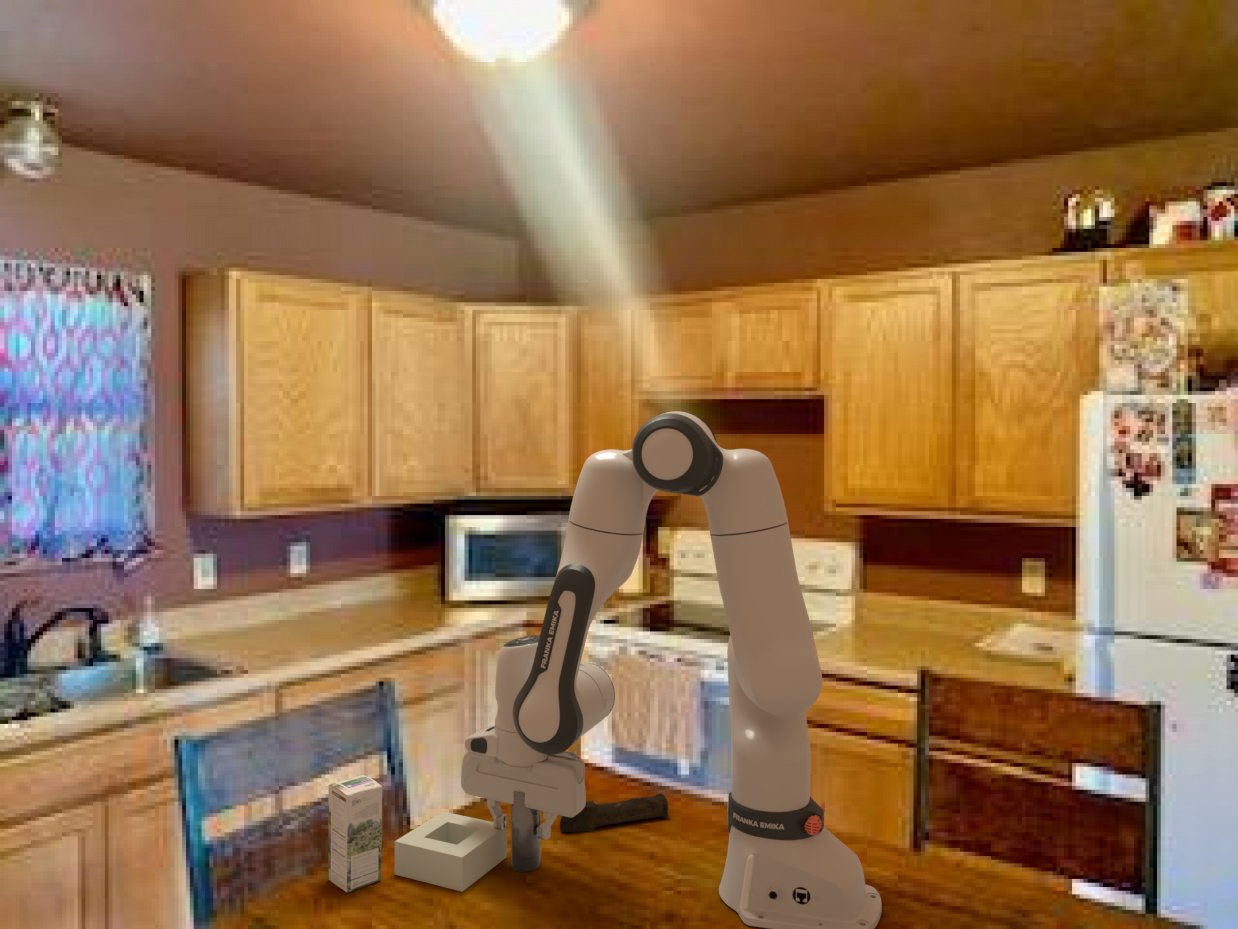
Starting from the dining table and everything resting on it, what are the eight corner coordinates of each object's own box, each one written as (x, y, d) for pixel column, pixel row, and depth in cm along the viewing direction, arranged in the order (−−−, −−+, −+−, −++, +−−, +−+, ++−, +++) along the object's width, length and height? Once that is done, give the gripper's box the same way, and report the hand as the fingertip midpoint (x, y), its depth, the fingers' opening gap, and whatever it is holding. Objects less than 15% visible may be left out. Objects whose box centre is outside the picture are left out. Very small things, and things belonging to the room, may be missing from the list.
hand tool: (660, 812, 161) (660, 786, 161) (669, 821, 157) (669, 794, 157) (555, 828, 154) (555, 800, 154) (562, 837, 151) (562, 809, 150)
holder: (506, 857, 143) (506, 825, 143) (462, 891, 132) (462, 857, 132) (442, 842, 148) (442, 811, 148) (394, 874, 137) (394, 841, 137)
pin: (545, 862, 141) (545, 784, 141) (531, 874, 137) (531, 794, 137) (520, 856, 143) (520, 779, 143) (505, 868, 139) (505, 789, 139)
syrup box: (362, 867, 139) (362, 772, 139) (383, 881, 135) (382, 783, 135) (327, 880, 135) (326, 782, 135) (347, 895, 131) (346, 794, 131)
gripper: (594, 747, 138) (592, 838, 139) (479, 726, 147) (477, 811, 147) (574, 761, 133) (572, 855, 133) (456, 738, 141) (454, 827, 142)
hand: (521, 832), depth 140 cm, fingers open, 6 cm apart
